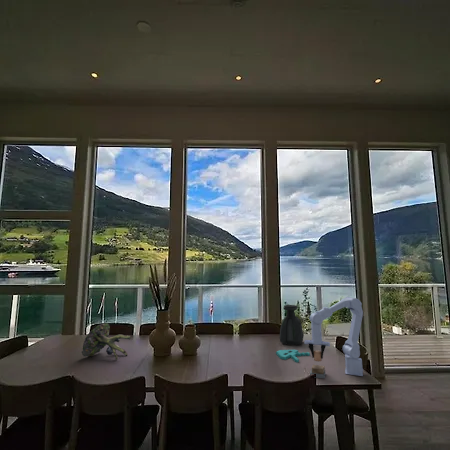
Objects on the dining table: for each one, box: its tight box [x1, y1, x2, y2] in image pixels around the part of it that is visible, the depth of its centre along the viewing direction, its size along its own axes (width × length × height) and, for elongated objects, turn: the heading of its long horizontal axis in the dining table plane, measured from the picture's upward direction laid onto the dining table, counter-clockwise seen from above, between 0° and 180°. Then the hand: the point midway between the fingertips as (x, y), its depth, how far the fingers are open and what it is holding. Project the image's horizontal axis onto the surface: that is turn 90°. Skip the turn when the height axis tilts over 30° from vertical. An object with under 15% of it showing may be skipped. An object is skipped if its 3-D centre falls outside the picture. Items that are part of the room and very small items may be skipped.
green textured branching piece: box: [81, 322, 132, 361], centre depth 210 cm, size 23×26×35 cm
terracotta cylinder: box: [313, 349, 323, 362], centre depth 173 cm, size 4×4×5 cm
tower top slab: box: [311, 364, 326, 374], centre depth 171 cm, size 6×6×2 cm
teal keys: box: [275, 349, 311, 363], centre depth 207 cm, size 20×2×20 cm
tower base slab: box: [309, 368, 327, 379], centre depth 171 cm, size 8×8×2 cm
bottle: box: [278, 304, 304, 346], centre depth 244 cm, size 18×16×30 cm
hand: (317, 357), depth 173 cm, fingers closed on terracotta cylinder, 4 cm apart
